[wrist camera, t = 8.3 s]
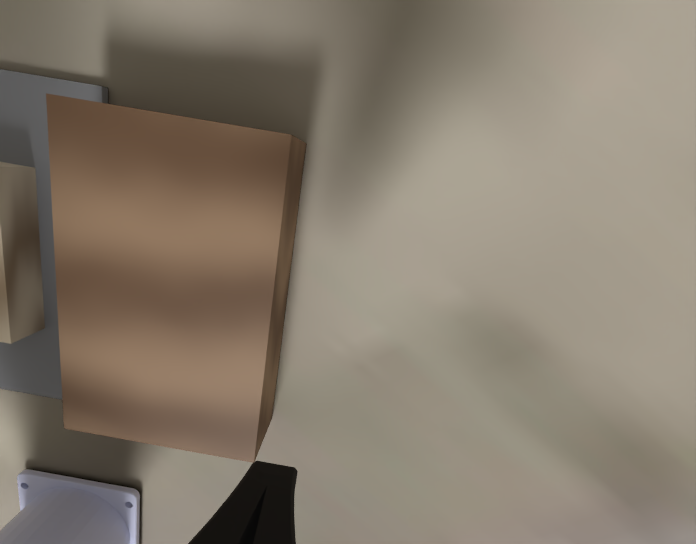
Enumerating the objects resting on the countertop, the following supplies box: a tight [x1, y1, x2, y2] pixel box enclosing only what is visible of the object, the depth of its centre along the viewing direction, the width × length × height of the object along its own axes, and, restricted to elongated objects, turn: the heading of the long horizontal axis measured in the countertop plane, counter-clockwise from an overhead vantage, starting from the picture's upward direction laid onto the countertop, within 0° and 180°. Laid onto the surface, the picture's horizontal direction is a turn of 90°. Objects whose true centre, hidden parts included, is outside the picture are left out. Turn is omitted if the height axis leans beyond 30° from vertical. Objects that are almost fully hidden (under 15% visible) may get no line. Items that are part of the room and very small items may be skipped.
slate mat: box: [0, 69, 108, 399], centre depth 19 cm, size 18×12×1 cm, turn 171°
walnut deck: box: [46, 93, 306, 463], centre depth 18 cm, size 16×10×4 cm, turn 171°
